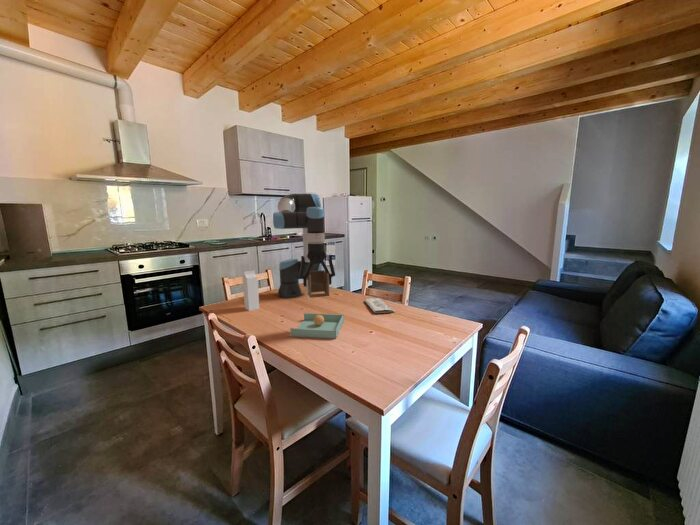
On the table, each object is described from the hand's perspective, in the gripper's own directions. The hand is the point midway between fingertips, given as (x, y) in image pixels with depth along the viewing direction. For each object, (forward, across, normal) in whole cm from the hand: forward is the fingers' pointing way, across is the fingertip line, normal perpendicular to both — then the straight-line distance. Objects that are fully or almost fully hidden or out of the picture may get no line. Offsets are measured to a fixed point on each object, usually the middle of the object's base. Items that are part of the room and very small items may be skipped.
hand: (317, 292), depth 129 cm
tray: (+17, 0, 0) cm, 17 cm away
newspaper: (+18, +38, +21) cm, 47 cm away
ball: (+14, +1, +3) cm, 15 cm away
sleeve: (+1, 0, 0) cm, 1 cm away
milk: (+17, -31, +38) cm, 52 cm away
